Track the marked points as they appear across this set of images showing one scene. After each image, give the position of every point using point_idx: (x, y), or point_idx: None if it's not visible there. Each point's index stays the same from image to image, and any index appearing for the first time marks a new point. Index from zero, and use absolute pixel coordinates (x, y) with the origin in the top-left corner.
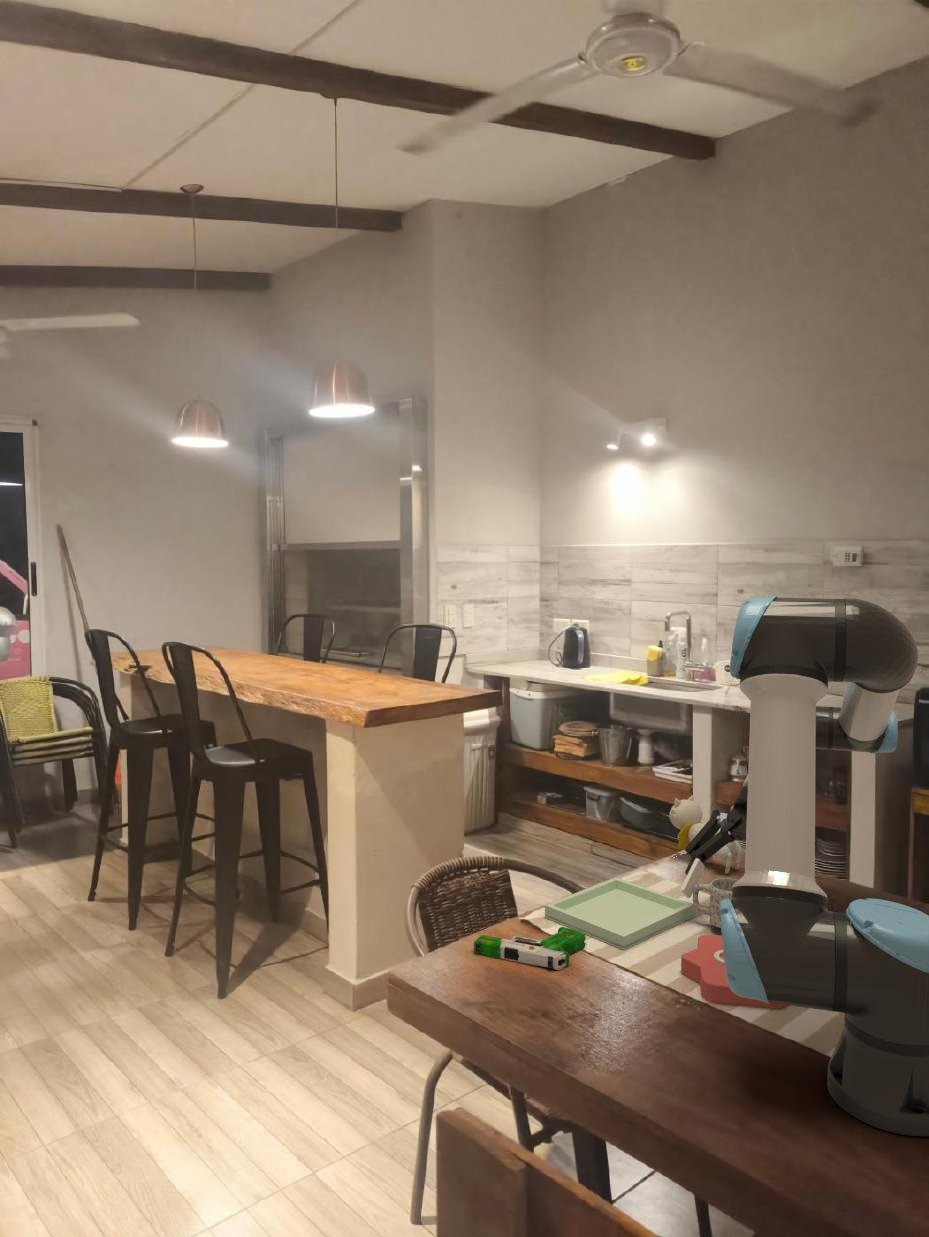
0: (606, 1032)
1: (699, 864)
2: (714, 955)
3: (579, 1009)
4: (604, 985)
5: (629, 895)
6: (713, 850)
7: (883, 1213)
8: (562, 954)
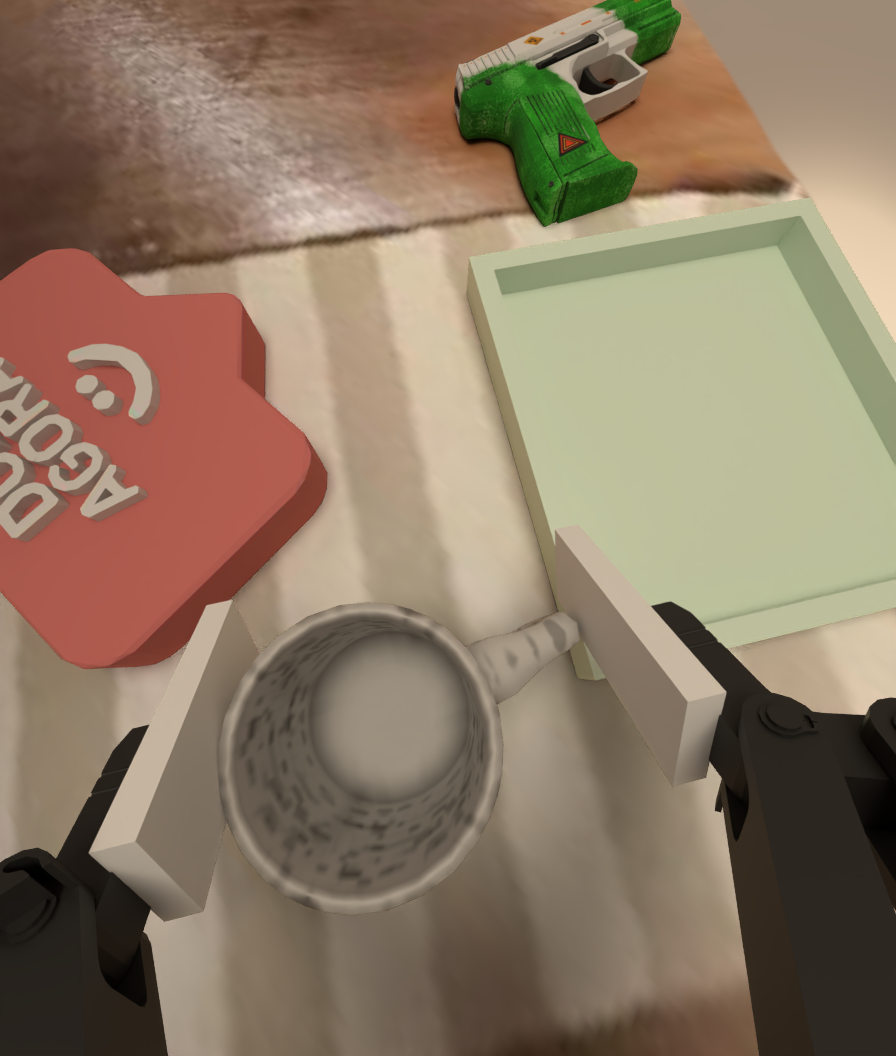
0: (167, 59)
1: (663, 701)
2: (137, 356)
3: (275, 65)
4: (329, 153)
5: (858, 564)
6: (760, 966)
7: None
8: (461, 78)
